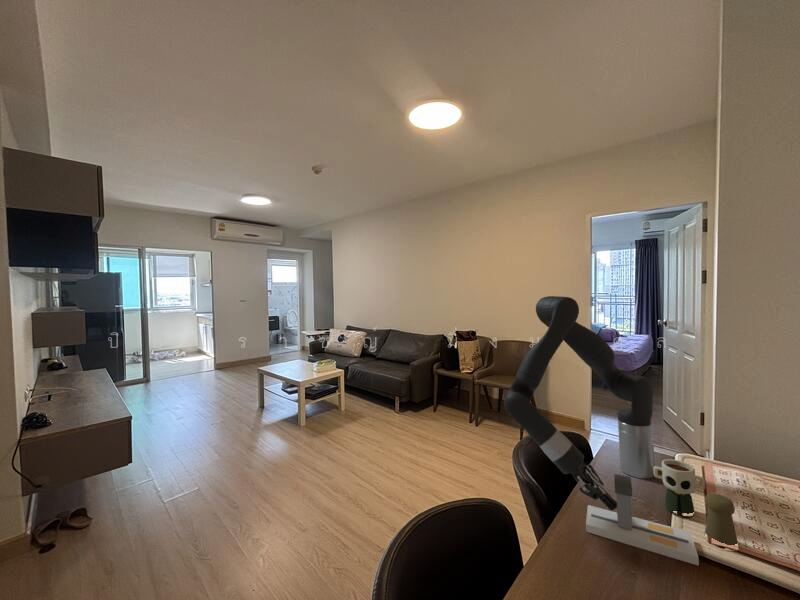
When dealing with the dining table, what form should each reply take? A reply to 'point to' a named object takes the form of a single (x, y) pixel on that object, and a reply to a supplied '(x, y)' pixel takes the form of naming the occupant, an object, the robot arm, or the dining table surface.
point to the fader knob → (623, 500)
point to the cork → (720, 519)
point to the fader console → (643, 535)
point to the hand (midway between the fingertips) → (614, 507)
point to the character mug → (679, 484)
